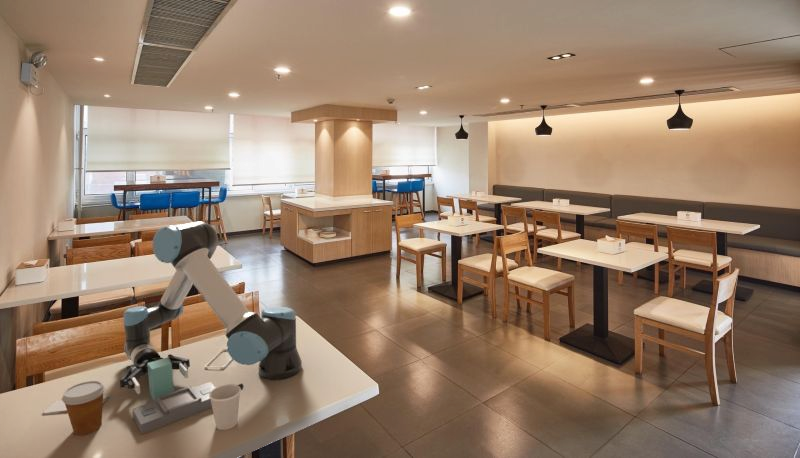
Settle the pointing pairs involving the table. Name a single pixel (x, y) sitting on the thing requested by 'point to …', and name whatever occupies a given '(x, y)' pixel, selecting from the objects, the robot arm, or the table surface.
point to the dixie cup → (225, 405)
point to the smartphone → (62, 406)
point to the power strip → (173, 407)
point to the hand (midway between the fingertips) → (163, 381)
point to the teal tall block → (160, 378)
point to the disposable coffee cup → (85, 406)
